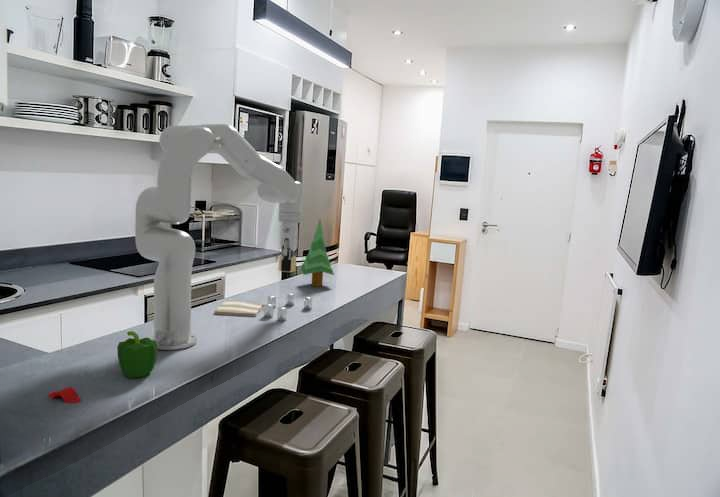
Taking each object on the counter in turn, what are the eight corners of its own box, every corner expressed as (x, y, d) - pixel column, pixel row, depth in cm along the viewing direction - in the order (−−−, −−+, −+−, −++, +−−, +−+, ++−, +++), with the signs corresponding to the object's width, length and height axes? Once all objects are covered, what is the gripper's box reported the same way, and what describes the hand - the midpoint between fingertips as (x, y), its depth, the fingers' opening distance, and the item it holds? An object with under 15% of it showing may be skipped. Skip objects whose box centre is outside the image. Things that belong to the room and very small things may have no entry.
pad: (255, 316, 170) (256, 313, 170) (214, 314, 170) (214, 311, 169) (263, 305, 184) (263, 303, 183) (225, 303, 183) (225, 301, 183)
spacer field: (306, 322, 166) (307, 310, 166) (258, 319, 166) (258, 307, 166) (313, 304, 189) (313, 294, 189) (270, 302, 189) (270, 291, 188)
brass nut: (294, 272, 173) (295, 257, 172) (277, 271, 173) (278, 256, 172) (296, 269, 178) (297, 255, 177) (279, 268, 178) (280, 254, 177)
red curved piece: (44, 398, 104) (44, 388, 104) (57, 392, 107) (57, 383, 107) (72, 406, 101) (72, 396, 101) (84, 401, 104) (84, 391, 104)
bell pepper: (163, 374, 118) (163, 333, 117) (128, 384, 112) (127, 341, 111) (146, 364, 124) (146, 325, 122) (112, 372, 118) (111, 331, 116)
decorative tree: (305, 280, 231) (308, 215, 226) (338, 284, 227) (342, 217, 223) (294, 286, 218) (297, 217, 213) (328, 290, 214) (332, 219, 210)
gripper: (297, 219, 164) (294, 274, 167) (303, 216, 181) (300, 266, 184) (274, 218, 164) (272, 273, 167) (282, 215, 181) (280, 265, 184)
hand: (287, 269), depth 175 cm, fingers closed on brass nut, 5 cm apart
